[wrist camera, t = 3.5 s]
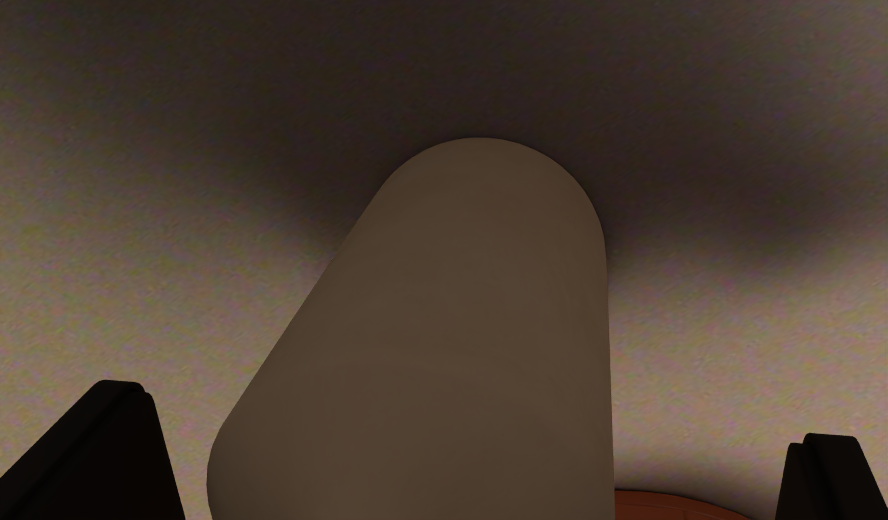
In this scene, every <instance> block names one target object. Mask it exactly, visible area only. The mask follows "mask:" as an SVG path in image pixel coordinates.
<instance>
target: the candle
mask: <svg viewBox="0 0 888 520" xmlns="http://www.w3.org/2000/svg"><path fill="white" fill-rule="evenodd" d="M206 485H207V494H208V503H209V507H210V511H211V515H212V519H213V520H615V497H614V466H613V436H612V405H611V375H610V345H609V314H608V284H607V262H606V251H605V242H604V235H603V232H602V228H601V224H600V221H599V219H598V216H597V214H596V212H595V209H594V207H593V205H592V203H591V201H590V200H589V198H588V196H587V195H586V193H585V191H584V190H583V189H582V187H581V186H580V185H579V184H578V183H577V181H576V180H575V179H574V178H573V177H572V176H571V175H570V174H569V173H568V172H567V171H566V170H565V169H564V168H563V167H562V166H560V165H559V164H557V163H556V162H555V161H553V160H552V159H550V158H549V157H547V156H545V155H544V154H542V153H540V152H538V151H536V150H534V149H532V148H529V147H527V146H524V145H521V144H519V143H515V142H511V141H507V140H503V139H494V138H464V139H457V140H452V141H448V142H445V143H441V144H438V145H436V146H433V147H431V148H429V149H426V150H424V151H422V152H421V153H419V154H417V155H416V156H414V157H412V158H411V159H409V160H408V161H406V162H405V163H404V164H403V165H401V166H400V167H399V168H398V169H396V170H395V171H394V172H393V173H392V175H391V176H390V177H389V178H388V179H387V180H386V181H385V182H384V184H383V185H382V186H381V188H380V189H379V190H378V192H377V193H376V195H375V196H374V197H373V199H372V200H371V202H370V203H369V205H368V206H367V208H366V209H365V211H364V212H363V214H362V215H361V217H360V218H359V220H358V221H357V223H356V224H355V226H354V227H353V229H352V230H351V232H350V233H349V235H348V236H347V238H346V239H345V241H344V242H343V244H342V245H341V247H340V248H339V250H338V251H337V253H336V254H335V256H334V257H333V259H332V260H331V262H330V263H329V265H328V266H327V268H326V269H325V271H324V272H323V274H322V275H321V277H320V278H319V280H318V281H317V283H316V284H315V286H314V287H313V289H312V290H311V292H310V294H309V295H308V297H307V298H306V300H305V301H304V303H303V304H302V306H301V307H300V309H299V310H298V312H297V313H296V315H295V316H294V318H293V319H292V321H291V322H290V324H289V325H288V327H287V328H286V330H285V331H284V333H283V334H282V336H281V337H280V339H279V340H278V342H277V343H276V345H275V346H274V348H273V349H272V351H271V352H270V354H269V355H268V357H267V358H266V360H265V361H264V363H263V364H262V366H261V367H260V369H259V370H258V372H257V373H256V375H255V376H254V378H253V379H252V381H251V382H250V384H249V385H248V387H247V388H246V390H245V391H244V393H243V394H242V396H241V397H240V399H239V401H238V402H237V404H236V405H235V407H234V408H233V410H232V411H231V413H230V414H229V416H228V417H227V419H226V420H225V422H224V423H223V425H222V426H221V428H220V430H219V432H218V435H217V437H216V439H215V441H214V443H213V446H212V449H211V453H210V457H209V462H208V468H207V484H206Z"/></svg>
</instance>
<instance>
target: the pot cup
mask: <svg viewBox="0 0 888 520" xmlns="http://www.w3.org/2000/svg"><path fill="white" fill-rule="evenodd" d="M614 497H615V520H751V519H749V518H746V517H744V516H742V515H740V514H738V513H736V512H733V511H730V510H727V509H724V508H721V507H718V506H715V505H712V504H709V503H706V502H701V501H697V500H693V499H688V498H684V497H680V496H675V495H667V494H660V493H652V492H644V491H614Z"/></svg>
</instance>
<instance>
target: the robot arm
mask: <svg viewBox="0 0 888 520" xmlns="http://www.w3.org/2000/svg"><path fill="white" fill-rule="evenodd" d="M0 520H185V515H184V511H183V508H182V504H181V500H180V496H179V493H178V489H177V485H176V482H175V478H174V474H173V470H172V467H171V463H170V459H169V455H168V452H167V448H166V444H165V441H164V437H163V433H162V429H161V426H160V422H159V418H158V414H157V411H156V407H155V403H154V400H153V398H152V396H151V395H150V394H149V393H147V392H145V390H144V388H143V387H142V386H141V385H140V383H136V382H128V381H115V380H101V381H99V382H97V383H96V384H94V385H93V386H92V387H91V388H90V389H89V390H88V391H87V392H86V393H85V394H84V395H83V396H82V397H81V398H80V399H79V400H78V401H77V402H76V403H75V404H74V405H73V406H72V407H71V408H70V409H69V410H68V411H67V412H66V413H65V414H64V415H63V416H62V417H61V418H60V419H59V420H58V421H57V422H56V423H55V424H54V425H53V426H52V427H51V428H50V429H49V430H48V431H47V432H46V433H45V434H44V435H43V436H42V437H41V438H40V439H39V440H38V441H37V442H36V443H35V444H34V445H33V446H32V447H31V448H30V449H29V450H28V451H27V452H26V453H25V454H24V455H23V456H22V457H21V458H20V459H19V460H18V461H17V462H16V463H15V464H14V465H13V466H12V467H11V468H10V469H9V470H8V471H7V472H6V473H5V474H4V475H3V476H2V477H1V478H0ZM775 520H888V508H887V506H886V504H885V501H884V499H883V497H882V494H881V492H880V490H879V488H878V485H877V483H876V481H875V479H874V476H873V474H872V472H871V469H870V467H869V465H868V463H867V460H866V458H865V456H864V453H863V451H862V449H861V447H860V444H859V442H858V441H857V439H856V438H855V437H853V436H842V435H829V434H816V433H808V434H806V436H805V438H804V440H803V444H802V443H790V445H789V447H788V451H787V456H786V461H785V467H784V472H783V478H782V483H781V488H780V494H779V499H778V505H777V510H776V515H775Z"/></svg>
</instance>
